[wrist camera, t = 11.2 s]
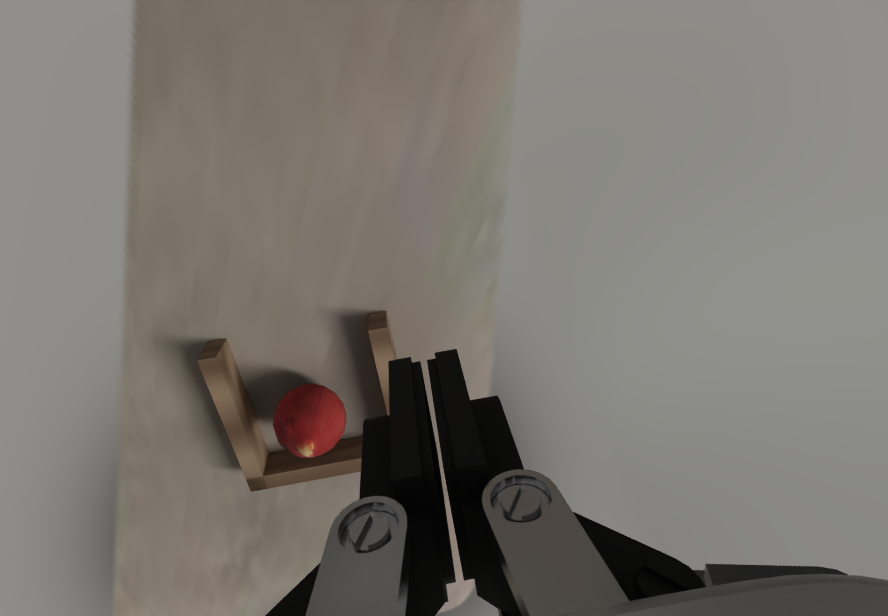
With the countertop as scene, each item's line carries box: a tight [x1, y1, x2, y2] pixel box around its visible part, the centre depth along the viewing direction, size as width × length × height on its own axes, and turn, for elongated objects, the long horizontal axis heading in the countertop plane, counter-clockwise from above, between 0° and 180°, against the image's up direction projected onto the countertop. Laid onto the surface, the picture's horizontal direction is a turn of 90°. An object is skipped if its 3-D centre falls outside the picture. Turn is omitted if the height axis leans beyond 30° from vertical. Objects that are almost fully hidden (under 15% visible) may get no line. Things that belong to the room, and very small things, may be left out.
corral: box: [197, 311, 397, 492], centre depth 45 cm, size 14×15×3 cm
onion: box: [273, 384, 346, 458], centre depth 43 cm, size 6×6×8 cm
